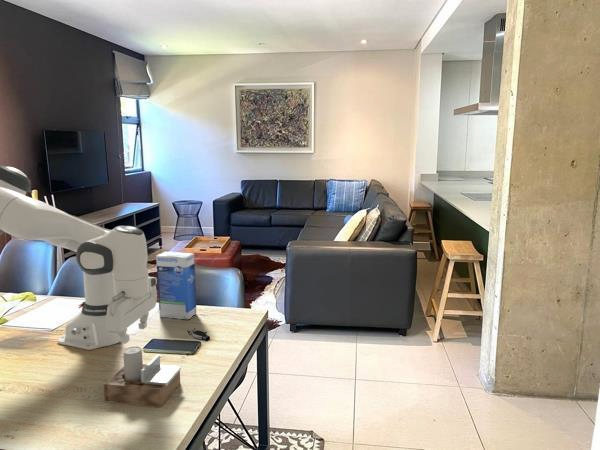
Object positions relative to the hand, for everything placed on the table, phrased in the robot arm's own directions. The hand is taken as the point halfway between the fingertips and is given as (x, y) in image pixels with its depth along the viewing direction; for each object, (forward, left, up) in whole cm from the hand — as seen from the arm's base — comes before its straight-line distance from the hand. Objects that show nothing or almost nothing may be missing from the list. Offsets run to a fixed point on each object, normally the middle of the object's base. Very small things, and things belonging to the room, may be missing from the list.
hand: (134, 334), depth 120 cm
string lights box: (-13, +55, -17) cm, 58 cm away
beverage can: (-1, 0, -17) cm, 17 cm away
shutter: (+8, 0, -11) cm, 14 cm away
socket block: (+2, 0, -17) cm, 17 cm away
